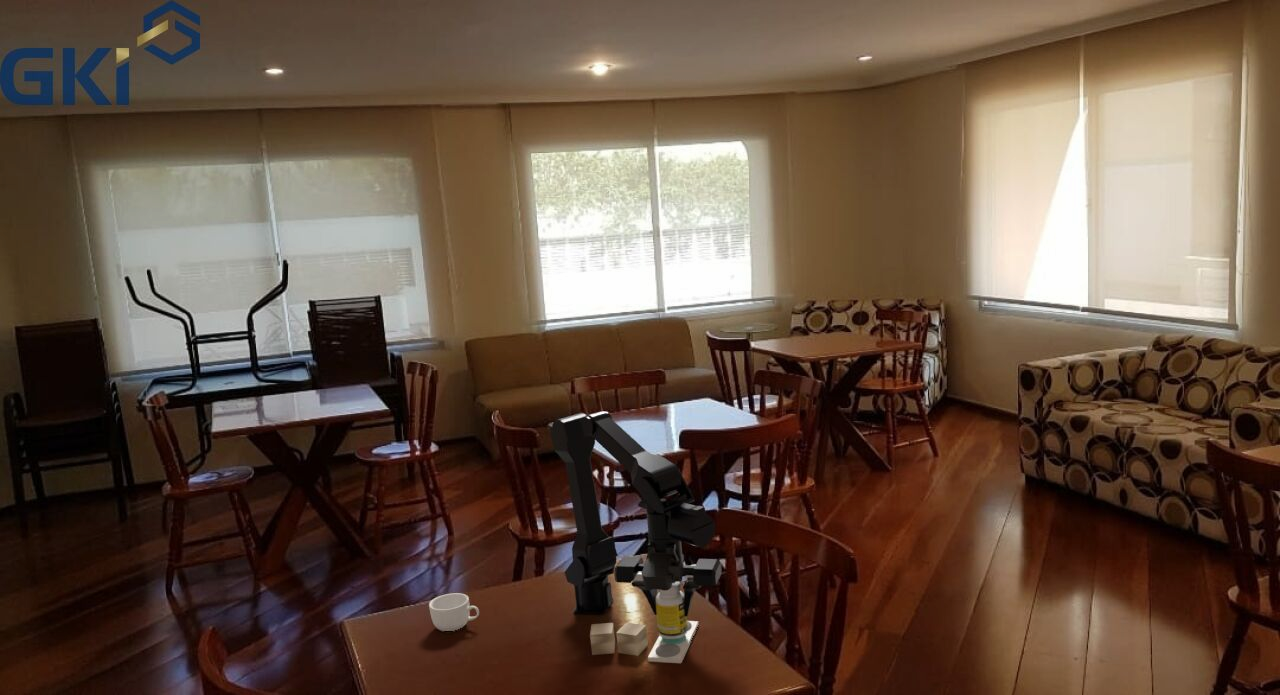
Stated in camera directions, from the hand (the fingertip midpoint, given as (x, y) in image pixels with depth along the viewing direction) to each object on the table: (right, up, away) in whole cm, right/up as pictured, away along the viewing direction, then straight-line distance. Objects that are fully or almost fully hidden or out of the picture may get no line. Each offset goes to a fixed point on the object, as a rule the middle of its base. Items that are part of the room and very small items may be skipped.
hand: (671, 614), depth 165 cm
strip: (+1, -5, +1) cm, 5 cm away
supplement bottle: (0, -4, +1) cm, 4 cm away
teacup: (-42, -7, +15) cm, 45 cm away
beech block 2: (-7, -6, 0) cm, 9 cm away
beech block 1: (-12, -7, +1) cm, 14 cm away
